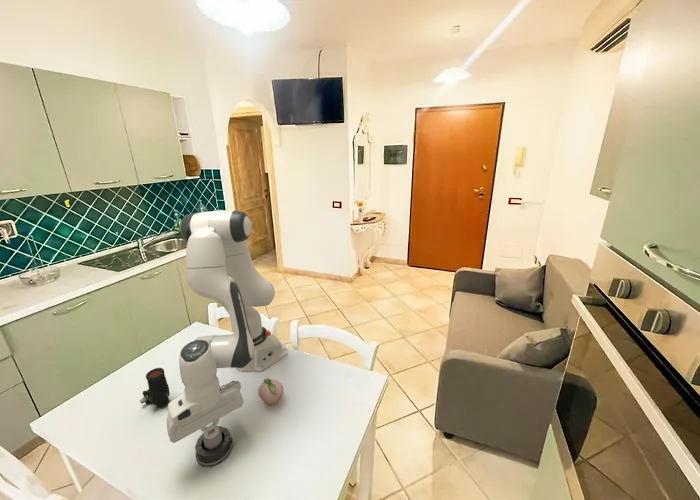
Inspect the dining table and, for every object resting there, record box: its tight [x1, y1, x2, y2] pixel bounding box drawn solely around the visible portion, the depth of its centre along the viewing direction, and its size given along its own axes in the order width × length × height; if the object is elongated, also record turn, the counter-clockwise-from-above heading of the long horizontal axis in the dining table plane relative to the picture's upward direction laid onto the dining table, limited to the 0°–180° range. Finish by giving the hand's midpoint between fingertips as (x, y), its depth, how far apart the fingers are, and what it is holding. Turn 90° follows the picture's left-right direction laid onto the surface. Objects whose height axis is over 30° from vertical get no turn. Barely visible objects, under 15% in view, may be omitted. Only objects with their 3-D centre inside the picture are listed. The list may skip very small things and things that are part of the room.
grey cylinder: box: [202, 425, 223, 451], centre depth 89 cm, size 5×5×6 cm
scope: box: [139, 367, 171, 410], centre depth 106 cm, size 8×14×10 cm
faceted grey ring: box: [194, 425, 234, 468], centre depth 90 cm, size 10×10×4 cm
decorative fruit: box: [257, 377, 285, 406], centre depth 106 cm, size 9×8×10 cm
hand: (211, 432), depth 88 cm, fingers closed
